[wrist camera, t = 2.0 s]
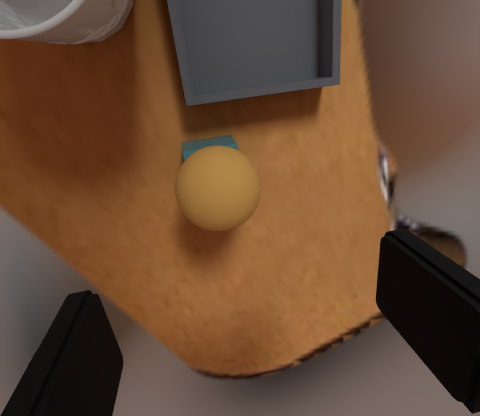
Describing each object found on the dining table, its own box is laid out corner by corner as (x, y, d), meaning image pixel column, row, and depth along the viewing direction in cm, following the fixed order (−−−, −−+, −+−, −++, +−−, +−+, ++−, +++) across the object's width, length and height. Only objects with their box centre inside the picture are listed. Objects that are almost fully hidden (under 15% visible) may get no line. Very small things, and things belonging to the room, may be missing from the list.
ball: (168, 144, 19) (163, 167, 14) (247, 132, 19) (266, 150, 15) (184, 215, 21) (184, 255, 16) (254, 203, 21) (273, 238, 17)
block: (182, 142, 22) (181, 154, 19) (230, 135, 22) (238, 145, 19) (191, 188, 24) (192, 206, 20) (236, 180, 24) (244, 197, 21)
